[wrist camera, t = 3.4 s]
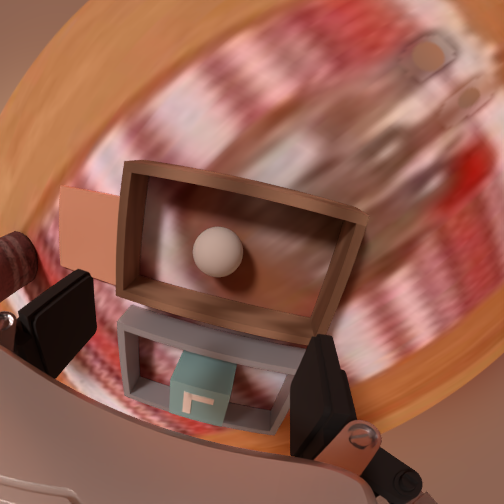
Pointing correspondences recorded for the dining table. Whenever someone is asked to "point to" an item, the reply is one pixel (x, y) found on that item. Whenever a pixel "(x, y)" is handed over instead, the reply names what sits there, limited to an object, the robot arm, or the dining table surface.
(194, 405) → the letter cube
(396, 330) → the dining table surface
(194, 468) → the robot arm
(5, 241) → the can
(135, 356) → the bin grey
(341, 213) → the bin walnut
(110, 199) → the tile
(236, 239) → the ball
